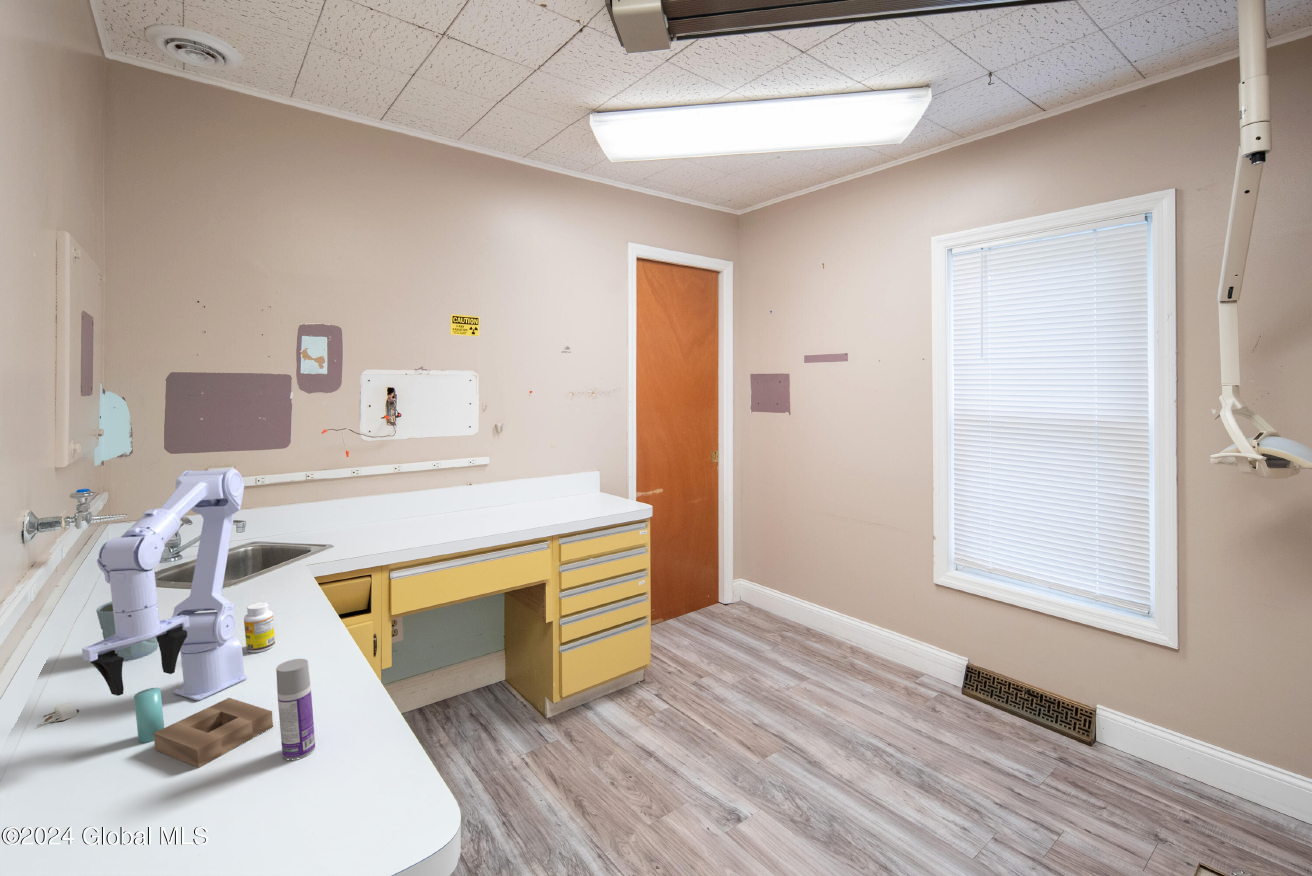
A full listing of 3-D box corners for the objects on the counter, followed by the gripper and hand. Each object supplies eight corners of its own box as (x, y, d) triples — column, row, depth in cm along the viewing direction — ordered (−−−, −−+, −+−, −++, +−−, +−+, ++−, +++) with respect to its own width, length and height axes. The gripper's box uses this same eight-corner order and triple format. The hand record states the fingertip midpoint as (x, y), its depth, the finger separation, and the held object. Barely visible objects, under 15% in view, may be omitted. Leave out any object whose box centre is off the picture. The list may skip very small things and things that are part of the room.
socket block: (230, 712, 111) (229, 697, 111) (273, 727, 106) (271, 711, 106) (155, 750, 100) (153, 733, 100) (199, 767, 95) (197, 749, 95)
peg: (157, 729, 106) (153, 686, 105) (169, 733, 105) (164, 690, 104) (134, 740, 103) (129, 695, 102) (145, 744, 102) (141, 699, 101)
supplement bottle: (246, 647, 139) (242, 604, 138) (274, 640, 142) (271, 599, 141) (246, 656, 134) (243, 612, 133) (276, 649, 137) (272, 606, 136)
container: (310, 739, 102) (304, 655, 101) (319, 751, 99) (312, 664, 97) (279, 751, 99) (272, 665, 98) (286, 764, 96) (279, 674, 94)
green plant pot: (172, 644, 141) (167, 595, 139) (131, 665, 131) (125, 612, 129) (133, 643, 142) (128, 594, 140) (89, 663, 132) (83, 611, 130)
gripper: (169, 589, 110) (176, 660, 111) (67, 619, 96) (77, 699, 98) (193, 593, 107) (200, 666, 108) (93, 625, 94) (102, 707, 95)
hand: (144, 682), depth 103 cm, fingers open, 7 cm apart
